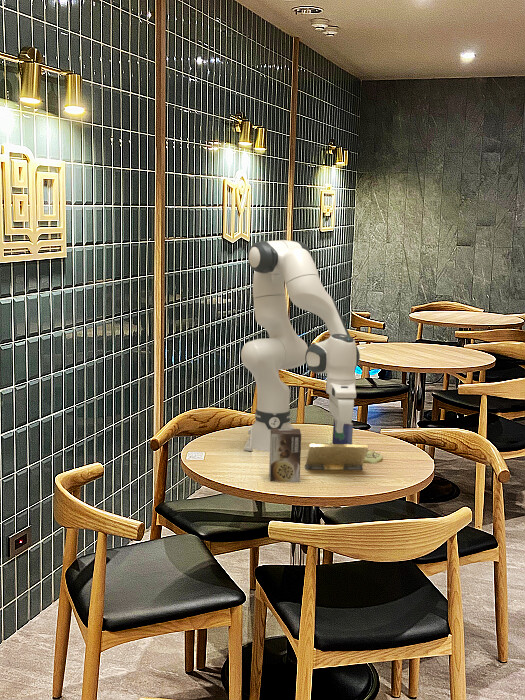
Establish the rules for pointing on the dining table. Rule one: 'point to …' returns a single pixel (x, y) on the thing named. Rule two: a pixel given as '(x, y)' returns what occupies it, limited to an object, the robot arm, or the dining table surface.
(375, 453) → the decorated donut
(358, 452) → the flap
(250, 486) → the dining table surface
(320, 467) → the hinge base
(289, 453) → the coffee box
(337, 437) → the flask
